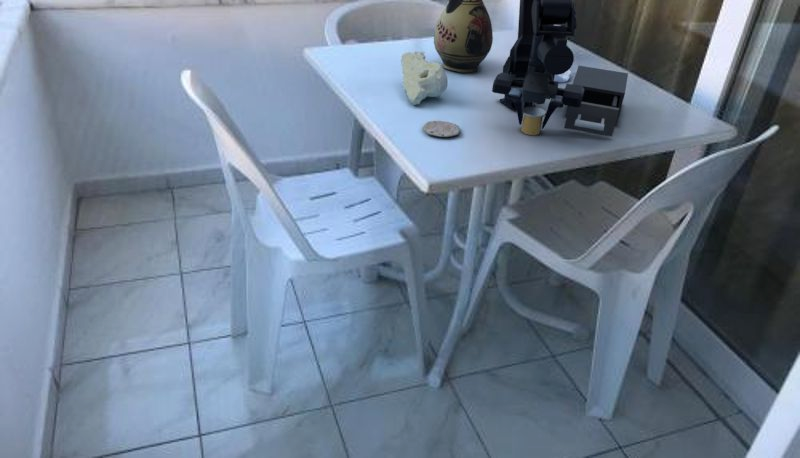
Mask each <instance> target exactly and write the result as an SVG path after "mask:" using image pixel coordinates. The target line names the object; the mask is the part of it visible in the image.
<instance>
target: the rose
mask: <svg viewBox="0 0 800 458" xmlns="http://www.w3.org/2000/svg"><path fill="white" fill-rule="evenodd" d="M571 74H572V72H571V70H570V69H569V70H568V71H566V72H565V73H563V74H559V75H555V77H554V81H557V82H558V83H567V82H568V81H569V80H570V76H571Z"/></svg>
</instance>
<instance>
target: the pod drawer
mask: <svg viewBox="0 0 800 458" xmlns="http://www.w3.org/2000/svg"><path fill="white" fill-rule="evenodd" d="M617 99H618V95H613V94H607V93H601V92H595V91H589V90H584V95H583V99H582V102H581V106H580V107H572V106H569V107H568V112H567V116H566V115H565V116H566V117H565V122H564V126H563V127H564V129H568V130H574V131H578V132H584V133H589V134H596V135H600V136H606V137H611V138H612V137H613V135H614V131H615V127H616V126H615V124H616V120H617V116H618V112H619V108H616V104H617Z"/></svg>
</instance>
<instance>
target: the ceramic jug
mask: <svg viewBox="0 0 800 458" xmlns="http://www.w3.org/2000/svg"><path fill="white" fill-rule="evenodd" d="M493 35H494V34H493V25H492V20H491V17H490V14H489V12H488V9H487V7H486V5H485V2H484V1H483V0H448V2H447V3H446V5H445V6H444V7H443V9H442V11H441V12H440V13H439V17H438V19H437V21H436V24H435V28H434V34H433V45H434V48H435V51H436V53H437V55H438V56H439V58H440V59H441V61H442V62H443V63H442V64H443V65H442V66H443V69H447V70H449V71H453V72H458V73H463V74H464V73H477V72H478V70H479V66H480V65H481V63H482V62H483V61H484V60H485V59H486V57H488V55H489V53H490V51H492V50H491V49H492V46H493V41H494V36H493Z"/></svg>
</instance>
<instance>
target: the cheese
mask: <svg viewBox="0 0 800 458" xmlns="http://www.w3.org/2000/svg"><path fill="white" fill-rule="evenodd" d="M400 62H401V69H402V84H403V86H402V87H403V90H404V92H406V95H407V97H408V99H409V101H410V103H411V104H412V105H414V106H416V105H420V104H421V102H422V100H425V99H426V98H430V97H431V98H440V96H441V95H442V94H443V93H444V92H445V91H446V90H447V88H448V84H449V83H448V75H447V73H446V70H445V68H444V66H443V65H442V64H441V63H438V62H437V61H435V62H434V61H433V62H428V61H427V60H426V55H425V51H420V52H417V51H416V50H414V51H413V52H409V51H407V52H404V53H402V55H401V59H400Z"/></svg>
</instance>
